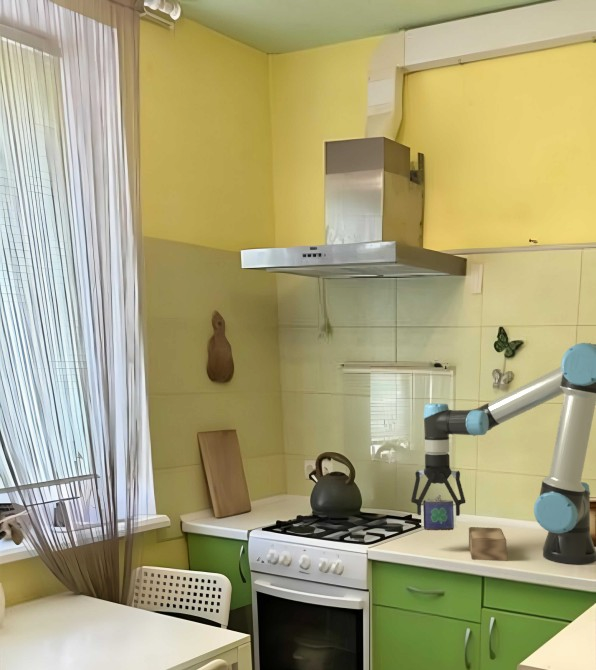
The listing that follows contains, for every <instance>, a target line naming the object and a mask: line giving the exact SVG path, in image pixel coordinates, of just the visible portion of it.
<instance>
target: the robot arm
mask: <svg viewBox="0 0 596 670" xmlns="http://www.w3.org/2000/svg"><path fill="white" fill-rule="evenodd" d="M561 395H563V401H562V404H561V405H562V406H561V411H560V416H559V421H558V427H557V433H556V437H555V441H554V447H553V453H552V460H551V463H550V469H549V473H548V475H547V476H545V477H544V478H543V479H542V481H541V488H540V492H539V496H538V497H537V498H536V500H535V502H534V506H533V514H534V518H535V520H536V522H537V523H538V524H539V526H541V527H542V529H544V530H545V531H547V535H546V539H545V542H544V543H543V547H542V556H543V558H545V559H546V560H548V561H549V560H550V561H551V562H552V561H553V562H557V563H562V564H569V565H570V564H571V565H585V564H586V565H587V564H588V565H589V564H593V563H595V562H596V548H595V545H594V541H593V539H592V536H591V524H590V523H591V520H590V519H591V518H590V517H591V516H590V515H591V514H590V509H591V508H590V504H591V503H590V502H591V501H590V500H591V499H590V497H591V491H590V485H589V484H588V483H587V482H582V476H583V471H584V466H585V461H586V457H587V451H588V447H589V446H588V445H589V442H590V441H589V440H590V434H591V431H592V430H591V429H592V426H593V425H592V423H593V419H594V415H595V414H594V413H595V409H596V344H594V343H591V342H587V343H586V342H580V343H576V344H574V345H573V346H570V347H569V348H568V349H567V350H566V351H565V352H564V354H563V355H562V358H561V363H560V366H559V367H557V368H555V369H553V370H552V371H549V372H548V373H546V374H543V375H542V376H540V377H537V378H536V379H533V380H531V381H529V382H527V383H526V384H523V385H521V386H520V387H517V388H516V389H514V390H511V391H509V392H507V393H505V394H504V395H501V396H500V397H498V398H495V399H494V400H492V401H490V402H488V403H484V404H483V405H481V406H479V407H476V408H472V409H463V410H461V409H460V410H458V409H457V410H455V409H450V408H449V405H448V403H440V402H439V403H437V402H436V403H433V402H432V403H426V404H425V405H424V409H423V410H424V411H423V422H424V423H423V424H424V430H423V431H424V452H425V454H424V469H423V470H416V471H415V472H414V473H415V482H414V485H413V490H412V497H411V499H410V501H411V503H413V504H416V505H417V506H416V509H417V511H416V513H417V516H420V520H421V523H420V525H421V526H420V527H422V528H424V505H423V501H424V498H425V496H426V495H427V493H428V491H429V489H430V487H431V485H432V484H441V485H442V484H444V486H445V487H446V489H447V491H448V493H449V494H450V496H451V498H452V501H453V518H454V528H457V517H459V516H461V507H460V506H461V505H464V504H466V497H465V494H464V491H463V488H462V482H461V480H460V479H461V478H460V477H461V472H460V470H452V469H451V466H450V465H451V463H450V454H449V452H450V435H460V436H474V437H475V436H485V435H486V434H487V432H489V431H490V430H492V429H493V428H494V427H495V428H496V427H497V426H499V425H501V424H502V423H505V422H507V421H509V420H511V419H513V418H515V417H517V416H519V415H522V414H523V413H525V412H526V413H527V411H531V410H532V409H534V408H536V407H538V406H540V405H543V404H545V403H546V402H548V401H551V400H553V399H555V398H557V397H560V396H561ZM423 475H424V476H425V477H426V478H427V481H426V483H425V485H424V487H423V489H422V491H421V493H420V495H419V497H418V499H417V494H418V490H419V486H420V481H421V479H422V478H423ZM450 476H452V477H453V478H454V479H455V482H456V486H457V490H458V494H459V497H460V498H458V497H457V494H456V493H455V491H454V490H453V487H452V486H451V484H450V482H449V480H448V479H449V478H450Z"/></svg>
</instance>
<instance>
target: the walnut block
mask: <svg viewBox="0 0 596 670" xmlns="http://www.w3.org/2000/svg"><path fill="white" fill-rule="evenodd" d="M468 548H469V552H470V553H469V554H470V557H471V558H470V559H471V560H477V561H478V560H481V561H497V562H498V561H499V562H500V561H501V562H502V561H503V562H506V561H507V560H508V559H507V554H508V553H507V549H508V548H507V538H506V536H505V535H504V531H503V530H502V528H499V527H484V526H483V527H482V526H481V527H479V526H477V527H476V526H470V527H468Z"/></svg>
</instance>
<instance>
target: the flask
mask: <svg viewBox="0 0 596 670" xmlns="http://www.w3.org/2000/svg"><path fill="white" fill-rule="evenodd" d="M441 497H442V496H441V495H440V494H436V497H435V498H428V499H425V500H424V499H423V501H422V504H423V506H424V527H423V529H424V530H425V531H453V530H454V529H455V527H454V518H453V504H454V500H453V499H442V498H441Z"/></svg>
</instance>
